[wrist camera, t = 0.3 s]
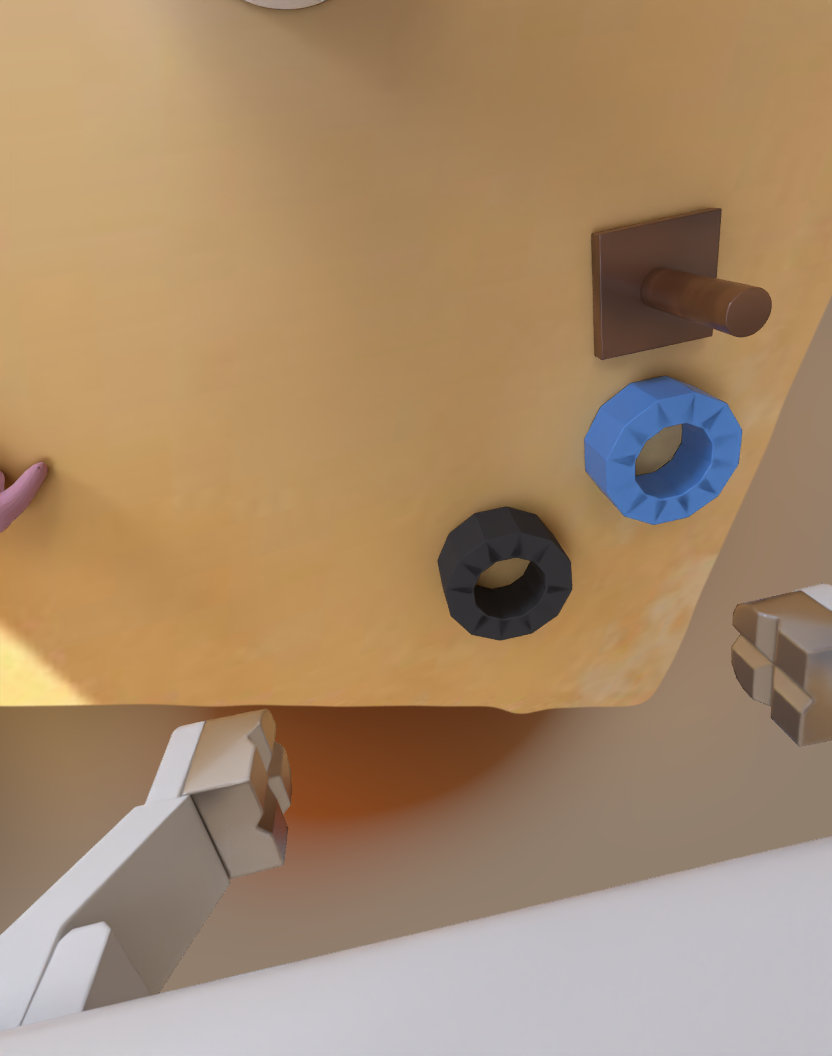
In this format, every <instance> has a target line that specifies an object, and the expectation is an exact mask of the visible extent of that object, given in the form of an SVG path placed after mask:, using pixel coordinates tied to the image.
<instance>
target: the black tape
mask: <svg viewBox="0 0 832 1056" xmlns="http://www.w3.org/2000/svg"><path fill="white" fill-rule="evenodd" d="M516 557H517V558H521V559H525V560H529V561H530V563H529V565H528V567H527V569H526V571H525V573H524V575H523V576H522V577H520V578H519V579H518V580H516V581H515V582H514V583H512V584H511V585H510V586H506V587H501V588H497V589H489V588H484V587H480V586H476V583H477V581H478V578H479V576H480V574H481V573H482V572H484V571H485V570H486V569H487V568H489V567H490V566H491V565H493V564H494V563H495V562H498V561H502V560H507V559H511V558H516ZM438 566H439V571H440V576H441V581H442V586H443V590H444V593H445V597H446V601H447V604H448V608H449V611H450V615H451V617H453V618H454V619H455V620H456V621H457V622H458V623H459V624H460V625H461V626H463V627H464V628H465V629H466V630H467V631H468V632H469V633H470V634H471V635H476V636H481V637H485V638H490V639H495V640H505V639H509V638H514V637H518V636H523V635H527V634H531V633H533V632H535V631H536V630H537V629H539V628H540V627H542V626H543V625H545V624H546V623H547V622H549V621H550V620H552V619H553V618H554V617H556V616H557V615H558V614H559V612H560V610H561V609H562V607H563V605H564V603H565V602H566V600H567V598H568V596H569V594H570V593H571V591H572V574H571V561H570V560H569V558H568V556H567V555H566V553H565V552H564V550H563V549H562V547H561V546H560V544H559V543H558V541H557V540H556V538H555V536H554V535H553V534H552V533H551V531H550V530H549V529H548V528H547V527H546V526H545V524H544V523H543V522H542V521H541V520H540V519H539V518H538V516H537V515H535V514H532V513H528V512H524V511H521V510H517V509H514V508H510V507H502V508H498V509H493V510H489V511H484V512H480V513H475V514H473V515H472V516H471V517H470V518H468V519H467V520H466V521H465V522H463V523H462V524H461V525H460V526H458V527H457V528H456V529H454V530H453V531H452V532H451V533H450V534H449V535H448V537H447V540H446V542H445V544H444V547H443V549H442V551H441V554H440V556H439V558H438Z"/></svg>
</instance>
